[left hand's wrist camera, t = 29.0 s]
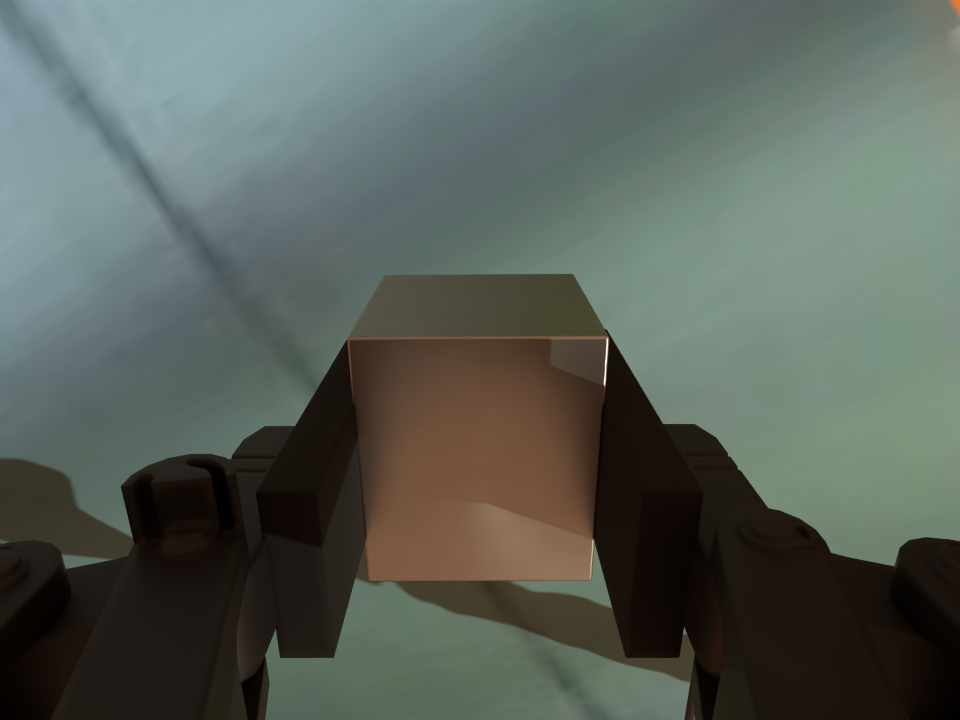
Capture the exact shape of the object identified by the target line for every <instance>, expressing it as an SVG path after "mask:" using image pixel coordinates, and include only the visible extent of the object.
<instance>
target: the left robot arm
mask: <svg viewBox="0 0 960 720" xmlns="http://www.w3.org/2000/svg"><path fill="white" fill-rule="evenodd" d="M605 331H606V332H607V334H608V336H609V349H608V363H607V377H606V391H605V403H604V416H603V430H602V443H601V456H600V469H599V482H598V496H597V509H596V521H595V534H594V541H595V545H596V549H597V553H598V556H599V560H600V564H601V567H602V571H603V575H604V579H605V582H606V586H607V590H608V593H609V597H610V601H611V605H612V608H613V612H614V616H615V619H616V623H617V627H618V631H619V634H620V638H621V642H622V645H623V649H624V653H625V657H626V658H679V657H680V650H681V643H682V636H683V630H684V627H685V630H686V632H687V635H688V637H689V640H690V642H691V645H692V647H693V650H694V652H695V657H694V663H693V670H692V676H691V682H690V688H689V695H688V701H687V707H686V714H685V720H694V715H695V720H960V541H955V540H950V539H939V538H928V537H925V538H919V539H913V540H909V541H908V542H906V543H905V544H904V545H903V546H901V547H900V549H899V553H898V556H897V559H896V563H895V566H890V565H884V564H879V563H874V562H869V561H864V560H859V559H854V558H849V557H845V556H841V555H837V554H833V553H831V552H830V550H829V548H828V546H827V544H826V542H825V541H824V539H823V538H822V537H821V536H820V534H819V533H818V532H817V531H816V530H815V529H814V528H813V527H811V526H810V525H808V524H807V523H805V522H804V521H802V520H801V519H799V518H797V517H794V516H792V515H789V514H787V513H784V512H782V511H779V510H774V509H769V508H768V507H767V506H766V504H765V503H764V502H763V500H762V499H761V498H760V496H759V495H758V494H757V492H756V491H755V490H754V488H753V487H752V485H751V484H750V483H749V481H748V480H747V479H746V477H745V476H744V475H743V473H742V472H741V471H740V470H738V467H737V465H736V464H735V462H734V461H733V460H732V458H731V457H728V453H727V452H726V450H725V449H724V448H723V446H722V445H721V443H720V442H719V441H718V439H717V438H716V437H714V436H713V435H711V434H710V433H708V432H706V431H705V430H703V429H702V428H700V427H699V426H697V425H695V424H663V423H662V421H661V420H660V418H659V416H658V415H657V413H656V411H655V410H654V408H653V406H652V405H651V403H650V401H649V400H648V398H647V396H646V395H645V393H644V391H643V390H642V388H641V386H640V385H639V383H638V381H637V380H636V378H635V376H634V375H633V373H632V371H631V369H630V368H629V366H628V364H627V363H626V361H625V359H624V358H623V356H622V354H621V353H620V351H619V349H618V348H617V346H616V344H615V343H614V341H613V339H612V338H611V336H610V334H609V333H608V331H607V329H605ZM121 489H122V494H123V498H124V502H125V506H126V511H127V515H128V519H129V523H130V527H131V532H132V536H133V540H134V545H133V547H132V549H131V551H130V553H129V555H128V556H126V557H122V558H118V559H114V560H110V561H105V562H100V563H95V564H90V565H85V566H80V567H75V568H70V569H66V568H65V565H64V562H63V558H62V555H61V551H60V550H59V549H58V548H56V547H55V546H54V545H53V544H51V543H47V542H41V541H35V540H32V541H21V542H10V543H5V544H0V720H265V716H266V707H267V699H268V690H269V677H268V670H267V663H266V657H265V654H266V652H267V649H268V647H269V644H270V642H271V639H272V637H273V634H274V632H275V629H276V633H277V640H278V646H279V653H280V658H334V655H335V651H336V647H337V644H338V640H339V636H340V633H341V629H342V625H343V621H344V618H345V614H346V610H347V607H348V603H349V599H350V595H351V592H352V588H353V584H354V581H355V577H356V573H357V570H358V566H359V562H360V558H361V555H362V551H363V547H364V544H365V540H366V539H365V527H364V514H363V502H362V490H361V477H360V465H359V453H358V440H357V428H356V415H355V404H354V403H353V399H352V388H351V377H350V365H349V354H348V343H347V340H346V342H345V344H344V345H343V347H342V349H341V350H340V352H339V354H338V355H337V357H336V359H335V360H334V362H333V364H332V365H331V367H330V369H329V370H328V372H327V374H326V375H325V377H324V379H323V380H322V382H321V384H320V385H319V387H318V389H317V390H316V392H315V394H314V396H313V397H312V399H311V401H310V402H309V404H308V406H307V407H306V409H305V411H304V412H303V414H302V416H301V417H300V419H299V421H298V422H297V424H296V426H265V427H263V428H261V429H260V430H258V431H257V432H255V433H254V434H252V435H250V436H249V437H247V438H246V439H244V440H243V441H242V443H241V444H240V445H239V447H238V448H237V450H236V451H235V452H234V454H233V455H232V459H229V460H228V459H227V458H225V457H221V456H217V455H213V454H188V455H183V456H177V457H172V458H168V459H165V460H162V461H159V462H156V463H153V464H151V465H148V466H146V467H145V468H143V469H141V470H139V471H138V472H136V473H134V474H133V475H131V476H130V477H129V478H128V479H127V480H126V481H125V482H124V484H123V485H122V486H121Z"/></svg>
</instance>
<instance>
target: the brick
mask: <svg viewBox="0 0 960 720" xmlns="http://www.w3.org/2000/svg"><path fill="white" fill-rule="evenodd" d="M347 343H348V354H349V365H350V377H351V388H352V399H353V403H354V404H355V415H356V428H357V440H358V453H359V465H360V477H361V490H362V502H363V514H364V527H365V539H366V540H365V547H366V558H367V569H368V579H369V581H371V582H382V581H589V580H591V579H592V570H593V556H594V542H595V541H594V534H595V521H596V509H597V496H598V482H599V469H600V456H601V443H602V430H603V416H604V403H605V391H606V377H607V363H608V349H609V336H608V334H607V332H606V331H605V329H604V327H603V325H602V324H601V322H600V320H599V318H598V317H597V315H596V313H595V311H594V310H593V308H592V306H591V305H590V303H589V301H588V299H587V298H586V296H585V294H584V292H583V291H582V289H581V287H580V285H579V284H578V282H577V280H576V278H575V277H574V275H573V274H485V275H385V276H384V277H383V279H382V281H381V282H380V284H379V286H378V287H377V289H376V291H375V292H374V294H373V296H372V298H371V299H370V301H369V303H368V304H367V306H366V308H365V309H364V311H363V313H362V314H361V316H360V318H359V320H358V321H357V323H356V325H355V326H354V328H353V330H352V331H351V333H350V335H349V337H348V339H347Z"/></svg>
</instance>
